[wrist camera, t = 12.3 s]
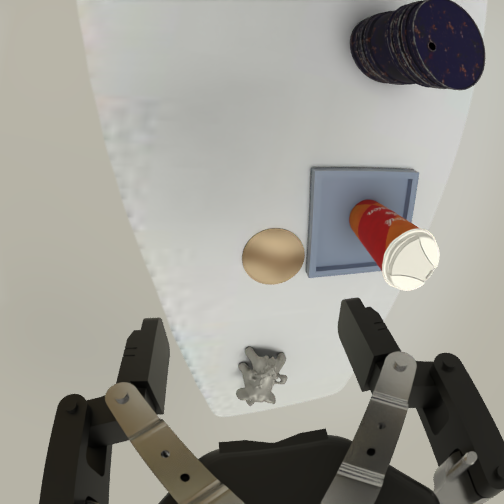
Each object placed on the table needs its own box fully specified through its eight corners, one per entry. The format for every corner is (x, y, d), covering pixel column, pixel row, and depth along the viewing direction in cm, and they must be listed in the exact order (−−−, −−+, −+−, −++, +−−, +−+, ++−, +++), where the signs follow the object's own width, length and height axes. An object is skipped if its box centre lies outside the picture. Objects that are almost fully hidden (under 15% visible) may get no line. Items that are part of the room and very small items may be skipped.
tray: (311, 167, 41) (314, 171, 39) (412, 169, 42) (419, 172, 40) (305, 271, 48) (308, 277, 47) (396, 262, 50) (401, 268, 48)
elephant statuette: (285, 342, 56) (293, 372, 49) (280, 385, 61) (286, 414, 54) (234, 344, 55) (236, 375, 48) (234, 387, 60) (237, 417, 53)
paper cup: (397, 209, 44) (453, 252, 32) (368, 249, 47) (413, 302, 34) (362, 181, 42) (417, 220, 29) (331, 226, 44) (373, 278, 32)
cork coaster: (241, 230, 44) (241, 232, 44) (305, 226, 45) (306, 227, 44) (243, 284, 48) (243, 286, 48) (302, 279, 49) (302, 281, 49)
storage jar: (398, 12, 30) (468, -4, 17) (421, 76, 35) (494, 83, 22) (337, 23, 31) (396, -1, 18) (363, 91, 36) (430, 100, 23)
